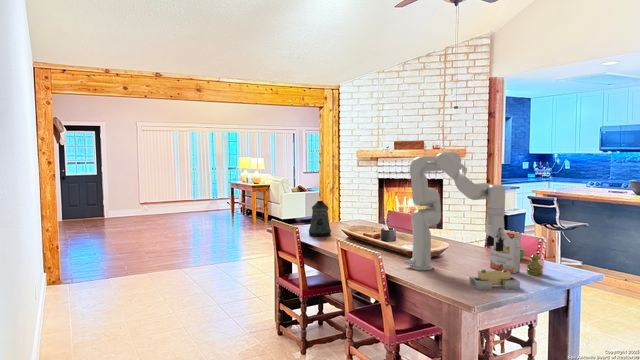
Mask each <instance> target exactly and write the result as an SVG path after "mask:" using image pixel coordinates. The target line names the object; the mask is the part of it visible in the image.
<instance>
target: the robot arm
mask: <svg viewBox="0 0 640 360" xmlns="http://www.w3.org/2000/svg"><path fill="white" fill-rule="evenodd" d="M409 164H410V165H409V176H410V181H411V195H412V202H413V204H414V206H416V207H425V208H420V209H417V210H415V211H413V212H412V214H411V216H410V220H411V226H412V227H411V228H412V257H411V258H410V259H408V260H407V259H404V260H403V264H404V265H409V268H410V269H412V270H416V271H431V270H433V269H434V267H435V266H434V264H432V263H431V261H432V254H431V253H432V233H431V230H430V227H431V226H435V225H438V224H439V223H440V221H441V219H442V211H441V210H442V209H441V207H442V206H441V198H440V193H439V191H437V190H436V189H435V187H434V188H433V187H429V185H428V183H429V182H428V178H427V176H426V174H425V173H433V172H435V173H436V172H441V171H443V172H444V173H445V174H446V175H448V176H449V178H451V179H452V180H453V182H454V185H455V186H456V188H457V190H458V191H459V192H460V193H462V194H463V195H464V196H465V197H466V198H468V199H470V200H472V201H478V200H486V199H487V206H486V208H487V209H486V211H487V212H486V221H485V235H486V246H487V247H491V246H494V238H492V237H496V240H497V242H496V251H503V242H504V237H505V233H504V230H505V218H504V217H505V215H506V186H505V185H503V184H492V183H487V182H482V183H481V182H480V183H479V182H478V183H474V182H473V181H472V180H471V179H469V178H468V177H467V176H466V175H467V172H468V167H466V166H465V165H464V164H463V163H462V158H461V156H460V155H459V153H457V152H455V151H442V152H440V153H438V154H436V155H422V156H421V155H420V156H417V157H415V158H414V159H412V161H411V162H410V163H409ZM498 238H499V239H498Z"/></svg>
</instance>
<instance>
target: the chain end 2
mask: <svg viewBox="0 0 640 360" xmlns="http://www.w3.org/2000/svg"><path fill="white" fill-rule="evenodd" d="M498 286H499V287H501V288H502V289H504V290H520V289H521V281H520V280H518V279H516V278H515V277H513V276H511V275H510V280H503V285H498Z"/></svg>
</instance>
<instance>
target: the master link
mask: <svg viewBox="0 0 640 360" xmlns="http://www.w3.org/2000/svg"><path fill="white" fill-rule="evenodd" d="M510 276H511V273H510V272H509V271H507V270H506V269H502V271H501V270H486V269H481V270H478V271H477V277H478V281H491V282H492V286H499V285H503V280H510Z"/></svg>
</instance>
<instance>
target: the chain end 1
mask: <svg viewBox="0 0 640 360" xmlns="http://www.w3.org/2000/svg"><path fill="white" fill-rule="evenodd" d="M468 282H469V283H468V284H469V285H470V286H471V287H472V288H473V289H475V290H476V291H486V290H487V291H489V290H491V291H492V290H493V285H492V282H491V281H478V276H469V277H468Z"/></svg>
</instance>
